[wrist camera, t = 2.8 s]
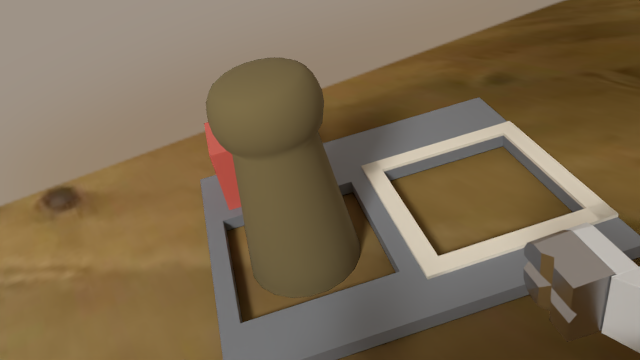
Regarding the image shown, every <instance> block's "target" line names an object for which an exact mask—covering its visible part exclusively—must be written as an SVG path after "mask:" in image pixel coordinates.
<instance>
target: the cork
mask: <svg viewBox="0 0 640 360" xmlns="http://www.w3.org/2000/svg"><path fill="white" fill-rule="evenodd" d="M323 108H324V99H323V94H322V89H321V87H320V85H319V83H318V81H317V79H316V78H315V76H314V75H313V73H312V72H311V71H310V70H309V69H308V68H307V67H306V66H305V65H303V64H302V63H300V62H298V61H295V60H291V59H285V58H265V59H258V60H254V61H250V62H247V63H244V64H241V65H239V66H237V67H234V68H232V69H231V70H229V71H228V72H226V73H224V74H223V75H222V76H221V77H220V78H219V79H218V80H217V81H216V82H215V83H213V85H212V86H211V89H210V91H209V94H208V97H207V101H206V110H207V118H208V123H209V126H210V128H211V131H212V134H213V135H214V137H215V138H216V140H217V141H218V142H219V144H220V145H221V146H222V147H223V148H224V149H225V150H226V151H228V152H230V153H231V154H232V156H233V162H234V168H235V173H236V179H237V185H238V190H239V196H240V202H241V208H242V213H243V219H244V225H245V231H246V236H247V242H248V248H249V254H250V259H251V265H252V270H253V274H254V278H255V279H256V280H257V281H258V283H259V284H260V285H261V286H262V288H264V289H266V290H268V291H270V292H271V293H273V294H275V295H280V296H285V297H290V298H295V297H308V296H313V295H316V294H319V293H322V292H325V291H328V290H330V289H331V288H333V287H335V286H336V285H338V284H339V283H341V282H343V281H344V280H345V279H346V278H347V277H348V275H349V274H350V273H351V272H352V271H353V270H354V269H355V267H356V264H357V262H358V260H359V257H360V242H359V240H358V237H357V234H356V232H355V229H354V226H353V224H352V221H351V218H350V216H349V213H348V210H347V208H346V205H345V202H344V200H343V197H342V194H341V192H340V189H339V186H338V184H337V181H336V178H335V176H334V173H333V170H332V167H331V165H330V162H329V159H328V157H327V154H326V151H325V149H324V146H323V143H322V141H321V138H320V135H319V133H318V130H319V128H320V126H321V124H322V119H323Z"/></svg>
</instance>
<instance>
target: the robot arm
mask: <svg viewBox="0 0 640 360" xmlns="http://www.w3.org/2000/svg"><path fill="white" fill-rule="evenodd" d="M524 256H525V257H526V258H527V259H528V260H529V261H528V263H527V264H526V266H525V267H524V268H523V273H524V282H525V285H526V288H527V290H528V292H529V294H530V296H531V298H532V299H533V300H534V301H535V303H536V304H537V305H538V306H539V307H542V308H544V309H546V310H549V311H550V317H549V320H550V322H551V323H552V324H553V325H554V327H555V328H556V329H557V330H558V332H559V333H560V334H561V335H562V337H563V338H564V339H565V340H566V342H569V341H572V340H575V339H578V338H581V337H584V336H588V335H591V334H594V333H597V332H600V331H602V333H603V334H605V335H607V336H608V337H610V338H612V339H614V340H616V341H618V342H620V343H622V344H623V345H625V346H627V347H629V348H631V349H633V350H635V351H637V352H639V353H640V266H638V265H636V264H635V263H634V262H633V261H632V260H631V259H630V258H629V257H628V256H626V255H625V254H624V253H623V252H622V251H621V250H620V249H619V248H618V247H616V246H615V245H614V244H613V243H612V242H611V241H610V240H609V239H608V238H606V237H605V236H604V235H603V234H602V233H601V232H600V231H599V230H598V229H596V228H595V227H594V226H593V225H592V224H590V223H587V222H586V223H583V224H580V225H577V226H574V227H571V228H568V229H566V230H561V231H559V232H556V233H553V234H550V235H547V236H544V237H542V238H539V239H536V240H533V241H530V242H527V244H526V245H525V247H524Z"/></svg>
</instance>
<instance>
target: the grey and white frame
mask: <svg viewBox="0 0 640 360" xmlns="http://www.w3.org/2000/svg"><path fill="white" fill-rule="evenodd" d="M323 146H324V149H325V151H326V154H327V157H328V159H329V162H330V165H331V167H332V170H333V173H334V176H335V178H336V181H337V184H338V186H339V189H340V192H341V194H342V195H345V194H348V193H351V192H353V193H354V195H355V196H356V198H357V200H358V202H359V204H360V206H361V208H362V210H363V211H364V213H365V215H366V217H367V219H368V221H369V223H370V225H371V227H372V228H373V230H374V232H375V234H376V236H377V238H378V240H379V242H380V243H381V245H382V247H383V249H384V251H385V253H386V255H387V257H388V259H389V260H390V262H391V264H392V266H393V268H394V270H395V272H396V273H394V274H391V275H388V276H385V277H382V278H378V279H375V280H372V281H369V282H366V283H363V284H360V285H357V286H354V287H351V288H348V289H345V290H342V291H338V292H335V293H332V294H329V295H326V296H323V297H320V298H317V299H314V300H311V301H308V302H305V303H302V304H298V305H295V306H292V307H289V308H286V309H283V310H280V311H277V312H274V313H271V314H268V315H265V316H262V317H258V318H255V319H252V320H249V321H246V322H242V317H241V311H240V305H239V299H238V294H237V288H236V282H235V276H234V271H233V265H232V259H231V254H230V248H229V242H228V236H227V230H230V229H234V228H237V227H240V226H244V219H243V213H242V208H241V207H239V208H235V209H232V210H229V208H228V205H227V202H226V200H225V197H224V194H223V191H222V189H221V186H220V183H219V180H218V178H217V175H214V176H211V177H208V178H204V179H201V180H200V181H201V189H202V197H203V205H204V212H205V220H206V228H207V236H208V244H209V252H210V260H211V268H212V275H213V283H214V291H215V299H216V307H217V315H218V323H219V331H220V338H221V346H222V354H223V360H337V359H340V358H343V357H346V356H348V355H351V354H354V353H357V352H360V351H363V350H366V349H369V348H372V347H375V346H378V345H381V344H384V343H387V342H390V341H393V340H396V339H399V338H402V337H405V336H408V335H411V334H414V333H416V332H419V331H422V330H425V329H428V328H431V327H434V326H437V325H440V324H443V323H446V322H449V321H452V320H455V319H458V318H461V317H464V316H467V315H470V314H473V313H476V312H479V311H482V310H485V309H487V308H490V307H493V306H496V305H499V304H502V303H505V302H508V301H511V300H514V299H517V298H520V297H523V296H526V295H529V292H528V290H527V288H526V285H525V282H524V273H523V268H524V267H525V266H526V264H527V263H528V261H529V260H528V259H527V258H526V257H525V256H524V247H525V245H526V244H527V242H530V241H533V240H536V239H539V238H542V237H544V236H547V235H550V234H553V233H556V232H559V231H561V230H566V229H568V228H571V227H574V226H577V225H580V224H583V223H586V222H587V223H590V224H592V225H593V226H594V227H595V228H596V229H598V230H599V231H600V232H601V233H602V234H603V235H604V236H605V237H606V238H608V239H609V240H610V241H611V242H612V243H613V244H614V245H615V246H616V247H618V248H619V249H620V250H621V251H622V252H623V253H624V254H625V255H626V256H628V257H629V258H630V259H631V260H632V259H635V258H638V257H640V236H639V235H638V234H637V233H636V232H635V231H634V230H632V229H631V228H630V227H629V226H628V225H627V224H625V223H624V222H623V221H622V220H621V219H620V218H619V217H618V213H617V212H616V211H615V210H613V209H612V208H611V207H610V206H609V205H608V204H606V203H605V202H604V201H603V200H602V199H600V198H599V197H598V196H597V195H596V194H595V193H593V192H592V191H591V190H590V189H589V188H588V187H586V186H585V185H584V184H583V183H582V182H581V181H579V180H578V179H577V178H576V177H575V176H574V175H572V174H571V173H570V172H569V171H568V170H567V169H565V168H564V167H563V166H562V165H561V164H560V163H558V162H557V161H556V160H555V159H554V158H552V157H551V156H550V155H549V154H548V153H547V152H545V151H544V150H543V149H542V148H541V147H540V146H538V145H537V144H536V143H535V142H534V141H533V140H531V139H530V138H529V137H528V136H527V135H526V134H524V133H523V132H522V131H521V130H520V129H519V128H517V127H516V126H515V125H514V124H513V123H511V122H510V121H508V122H507V121H506V120H505V119H504V118H502V117H501V116H500V115H499V114H498V113H497V112H495V111H494V110H493V109H492V108H491V107H490V106H489V105H487V104H486V103H485V102H484V101H483V100H482V99H480V98H475V99H472V100H469V101H465V102H462V103H458V104H455V105H452V106H448V107H445V108H442V109H438V110H435V111H431V112H428V113H425V114H421V115H418V116H414V117H411V118H408V119H404V120H401V121H397V122H394V123H391V124H387V125H384V126H381V127H377V128H374V129H370V130H367V131H364V132H360V133H357V134H353V135H350V136H347V137H343V138H340V139H336V140H333V141H330V142H326V143H323ZM501 146H504V147H505V148H506V149H507V150H508V151H509V152H510V153H511V154H512V155H513V156H514V157H515V158H516V159H517V160H518V161H519V162H521V163H522V164H523V165H524V166H525V167H526V168H527V169H528V170H529V171H530V172H531V173H532V174H533V175H534V176H535V177H536V178H538V179H539V180H540V181H541V182H542V183H543V184H544V185H545V186H546V187H547V188H548V189H549V190H550V191H551V192H552V193H553V194H555V195H556V196H557V197H558V198H559V199H560V200H561V201H562V202H563V203H564V204H565V205H566V206H567V207H568V208H569V209H570V210H571V211H573V213H570V214H567V215H563V216H560V217H557V218H554V219H551V220H548V221H545V222H542V223H539V224H536V225H533V226H530V227H526V228H523V229H520V230H517V231H514V232H511V233H508V234H505V235H502V236H499V237H496V238H493V239H489V240H486V241H483V242H480V243H477V244H474V245H471V246H468V247H465V248H462V249H459V250H456V251H452V252H449V253H446V254H443V255H440V256H438V255H437V254H436V252H435V251H434V249H433V247H432V246H431V244H430V243H429V241H428V240H427V238H426V237H425V235H424V234H423V232H422V230H421V229H420V227H419V226H418V224H417V223H416V221H415V220H414V218H413V217H412V215H411V213H410V212H409V210H408V209H407V207H406V206H405V204H404V203H403V201H402V200H401V198H400V196H399V195H398V193H397V192H396V190H395V189H394V187H393V186H392V184H391V183H390V180H394V179H397V178H400V177H403V176H407V175H410V174H413V173H417V172H420V171H423V170H426V169H430V168H433V167H436V166H439V165H443V164H446V163H449V162H452V161H456V160H459V159H462V158H465V157H469V156H472V155H475V154H479V153H482V152H485V151H488V150H492V149H495V148H498V147H501Z"/></svg>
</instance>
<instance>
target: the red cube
mask: <svg viewBox="0 0 640 360" xmlns="http://www.w3.org/2000/svg"><path fill="white" fill-rule="evenodd" d="M204 125H205V131H206V137H207V143H208V149H209V155H210V158H211V161H212V164H213V167H214V169H215V172H216V175H217V178H218V180H219V183H220V186H221V189H222V191H223V194H224V197H225V200H226V202H227V205H228V208H229V210H232V209H235V208H239V207H241V202H240V196H239V190H238V185H237V179H236V173H235V168H234V162H233V156H232V154H231V153H230V152H228V151H226V150H225V149H224V148H223V147H222V146H221V145H220V144H219V142H218V141H217V140H216V138H215V137H214V135H213V134H212V131H211V128H210V126H209V123H208V122H207V123H204Z"/></svg>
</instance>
